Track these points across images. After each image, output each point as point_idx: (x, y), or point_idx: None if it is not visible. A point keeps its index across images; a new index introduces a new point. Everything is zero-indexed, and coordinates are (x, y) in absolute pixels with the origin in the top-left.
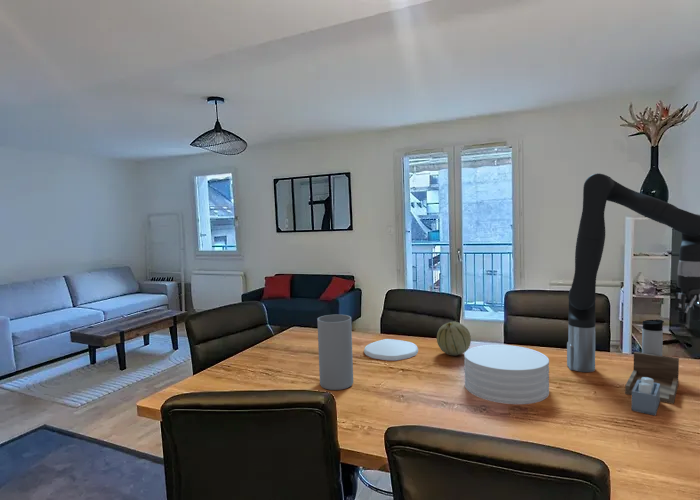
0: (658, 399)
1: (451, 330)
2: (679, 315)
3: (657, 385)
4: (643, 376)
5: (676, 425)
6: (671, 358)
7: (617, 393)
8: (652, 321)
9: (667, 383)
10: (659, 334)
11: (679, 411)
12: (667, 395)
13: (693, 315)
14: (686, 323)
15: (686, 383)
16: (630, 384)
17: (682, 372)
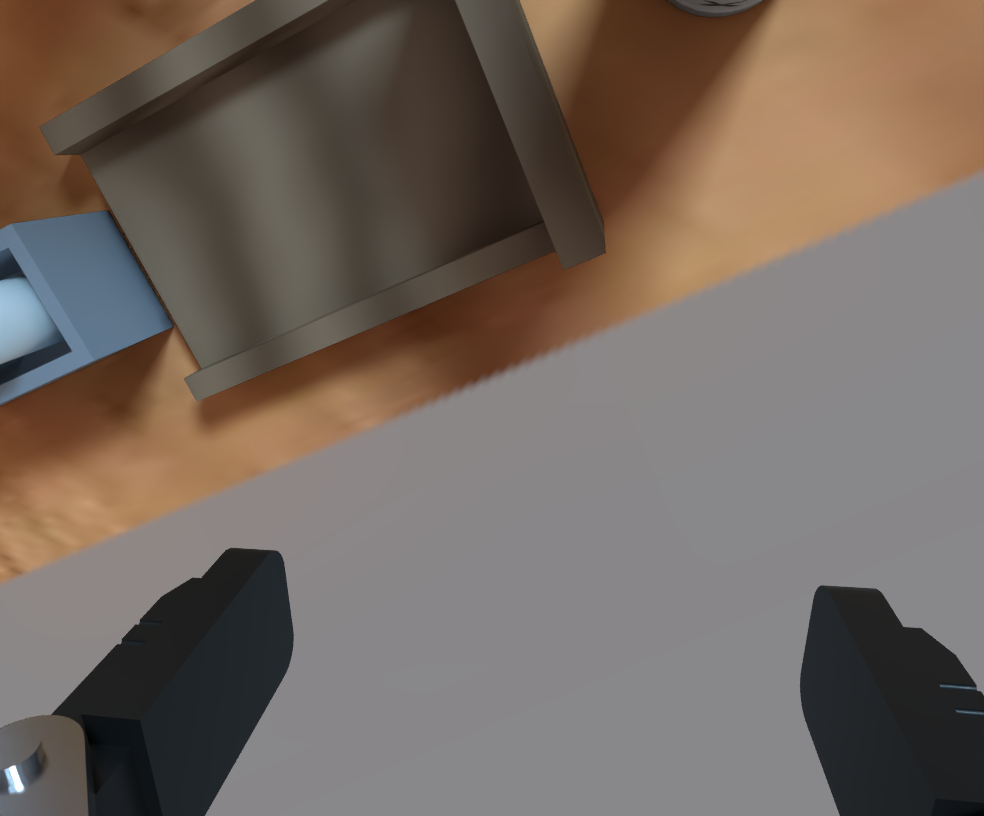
0: (80, 368)
1: None
2: (95, 681)
3: (46, 369)
4: (456, 8)
5: (4, 508)
6: (541, 210)
7: (41, 94)
8: None
9: (464, 215)
10: None
11: (159, 446)
12: (244, 334)
13: (847, 661)
14: (281, 654)
15: (671, 248)
16: (93, 133)
17: (964, 82)
